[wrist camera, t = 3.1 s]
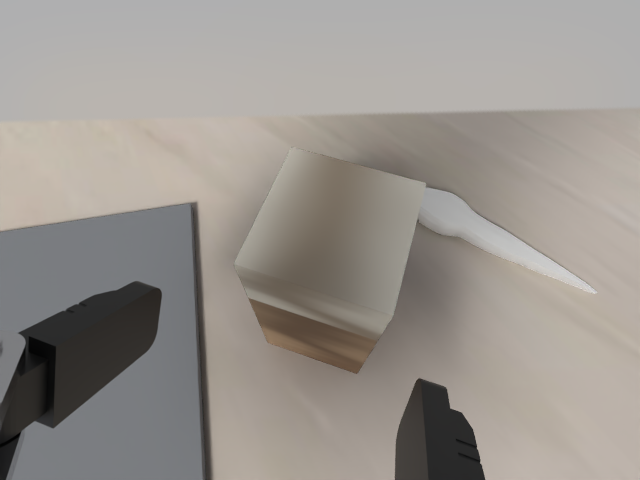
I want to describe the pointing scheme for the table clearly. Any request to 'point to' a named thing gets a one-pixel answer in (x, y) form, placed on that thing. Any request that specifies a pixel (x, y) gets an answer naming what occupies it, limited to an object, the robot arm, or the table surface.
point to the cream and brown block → (329, 256)
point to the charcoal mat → (140, 377)
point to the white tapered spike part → (486, 235)
